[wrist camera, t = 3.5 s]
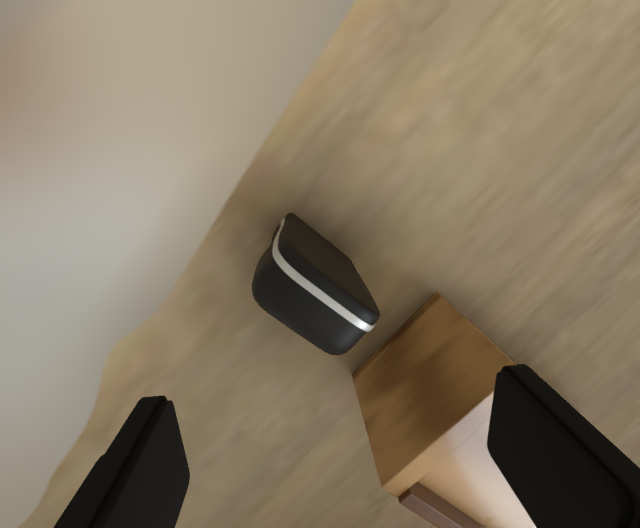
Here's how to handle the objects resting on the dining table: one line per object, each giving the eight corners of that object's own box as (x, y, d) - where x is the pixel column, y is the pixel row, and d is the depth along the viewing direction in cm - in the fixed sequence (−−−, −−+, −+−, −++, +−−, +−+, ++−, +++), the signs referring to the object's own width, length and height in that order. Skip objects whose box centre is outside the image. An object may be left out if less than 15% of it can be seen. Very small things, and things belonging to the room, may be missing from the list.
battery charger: (258, 245, 27) (233, 304, 16) (288, 208, 26) (282, 243, 15) (325, 294, 28) (343, 379, 17) (354, 261, 28) (392, 327, 17)
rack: (494, 481, 36) (580, 618, 26) (351, 374, 31) (382, 492, 20) (574, 417, 34) (704, 536, 24) (436, 291, 29) (523, 371, 18)
